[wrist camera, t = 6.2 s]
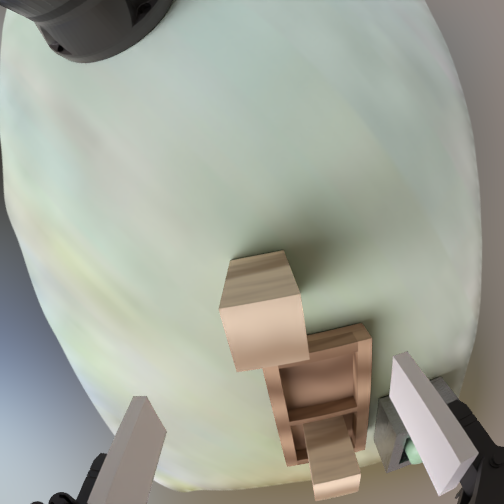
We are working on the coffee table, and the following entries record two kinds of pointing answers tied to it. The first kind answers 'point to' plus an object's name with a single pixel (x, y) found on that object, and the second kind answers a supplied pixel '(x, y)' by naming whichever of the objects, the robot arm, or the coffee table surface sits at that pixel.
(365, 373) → the wooden divided tray
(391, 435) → the grey square bin
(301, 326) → the billet
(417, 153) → the coffee table surface
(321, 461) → the seated billet
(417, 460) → the button
